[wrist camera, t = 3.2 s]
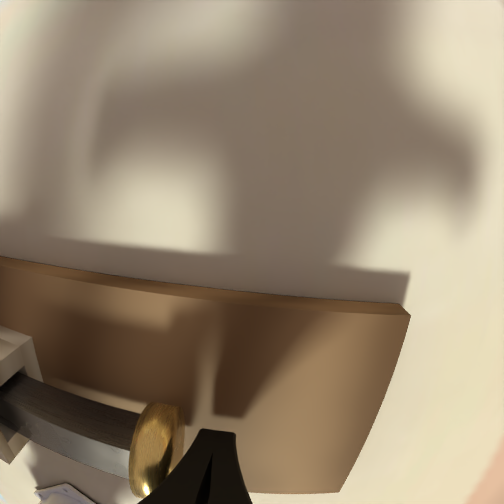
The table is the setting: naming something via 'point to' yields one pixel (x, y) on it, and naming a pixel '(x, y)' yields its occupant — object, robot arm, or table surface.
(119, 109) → the table surface
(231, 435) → the robot arm
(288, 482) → the board
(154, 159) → the table surface
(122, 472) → the shaft
